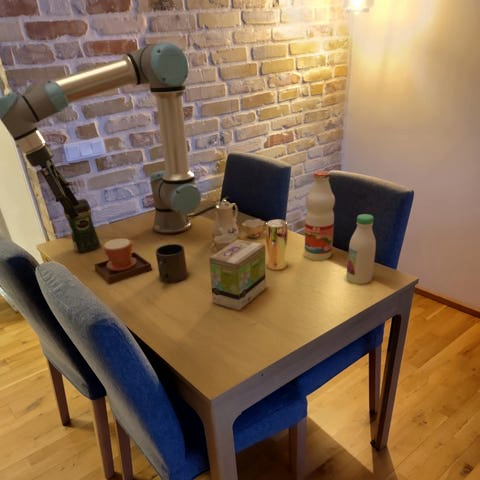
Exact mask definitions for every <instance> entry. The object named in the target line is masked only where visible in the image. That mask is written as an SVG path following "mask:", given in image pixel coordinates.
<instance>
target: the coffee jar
mask: <svg viewBox="0 0 480 480" xmlns="http://www.w3.org/2000/svg"><path fill="white" fill-rule="evenodd" d="M77 200H78V202H79V205H77V206H75V207H74V208H75V210H76V211H77V213H78V214H79V216H78V217H76V218H74V219H72V220H71V219H70V217H69V215H68V214H67V212H66V211H65V209H64V208H63V207H62V208H63V215H64V217H65V218H66V220H67V222H68V226H69V229H70V235H71V240H72V245H73V248H74V251H75V252H77V253H86V252H91V251H94V250H97V249H99V248H100V247H101V242H100V238H99V236H98V233H97V231H96V229H95V226H94V222H93V220H92V208H91V206H90V204H89V201H88V200H87V199H85V198H81V199H77Z"/></svg>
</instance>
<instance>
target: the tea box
mask: <svg viewBox="0 0 480 480" xmlns="http://www.w3.org/2000/svg"><path fill="white" fill-rule="evenodd" d="M208 259H209V260H208V261H209V273H210V286H211V300H212V303H214V304H216V305H220V306H223V307H226V308H230V309H234V310H238V311H241V309H242V308H244V307H245V306H246V305H247V304H248V303H250V302H251V301H253V299H255V298H256V297H257V296H258V295H259V294H260V293H262V292H263V291H264V290H265V289H266V287H267V286H266V245H265V244H264V243H258V242H254V241H249V240H243V239H239V238H238V239H237V240H236V241H234V242H233V243H231V244H229V245H228V246H226V247H225V248H223V249H222V250H220V251H219V250H218V251H216V252H214V254H212V255H210V256H209V258H208Z"/></svg>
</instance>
